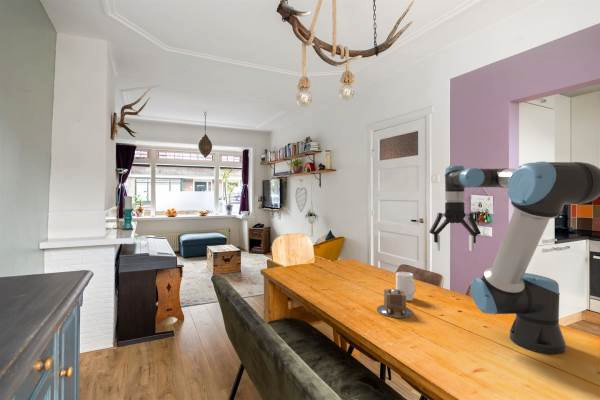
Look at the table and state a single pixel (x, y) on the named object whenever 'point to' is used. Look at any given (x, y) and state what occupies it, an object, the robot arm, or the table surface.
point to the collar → (395, 302)
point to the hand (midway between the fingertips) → (454, 250)
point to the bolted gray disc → (383, 311)
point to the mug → (405, 284)
